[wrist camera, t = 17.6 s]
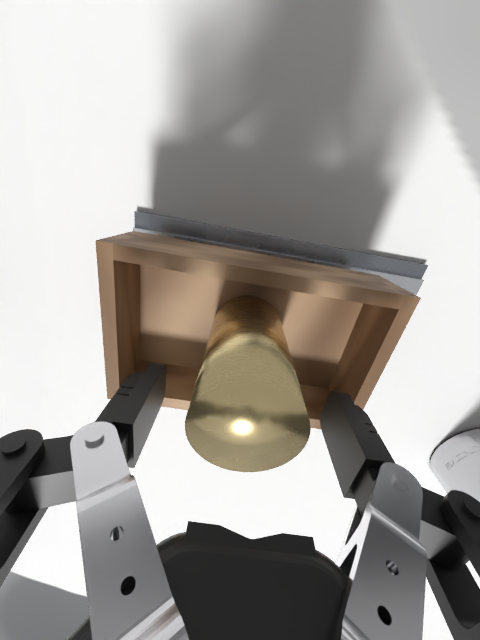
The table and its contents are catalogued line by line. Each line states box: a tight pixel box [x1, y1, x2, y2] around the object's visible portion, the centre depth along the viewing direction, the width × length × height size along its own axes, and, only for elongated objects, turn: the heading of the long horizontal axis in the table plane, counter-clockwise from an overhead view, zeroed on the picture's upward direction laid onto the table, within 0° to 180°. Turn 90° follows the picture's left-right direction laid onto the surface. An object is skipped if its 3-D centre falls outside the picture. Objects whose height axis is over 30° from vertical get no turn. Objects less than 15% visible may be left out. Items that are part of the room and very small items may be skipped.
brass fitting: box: [185, 295, 310, 472], centre depth 14 cm, size 5×5×9 cm
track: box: [133, 211, 428, 295], centre depth 21 cm, size 22×12×1 cm, turn 80°
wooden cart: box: [96, 231, 420, 429], centre depth 18 cm, size 17×10×7 cm, turn 80°
